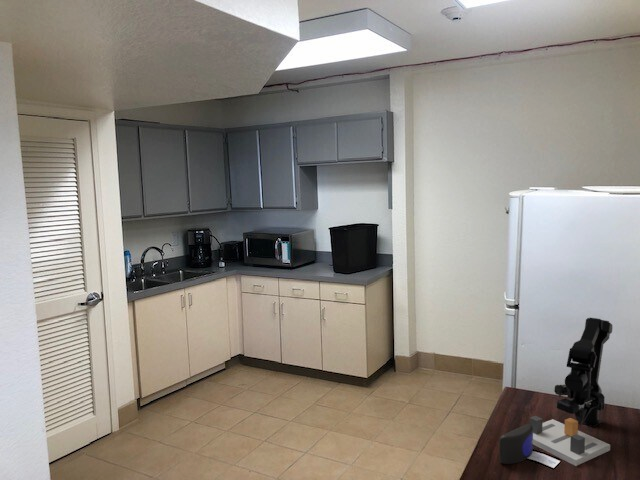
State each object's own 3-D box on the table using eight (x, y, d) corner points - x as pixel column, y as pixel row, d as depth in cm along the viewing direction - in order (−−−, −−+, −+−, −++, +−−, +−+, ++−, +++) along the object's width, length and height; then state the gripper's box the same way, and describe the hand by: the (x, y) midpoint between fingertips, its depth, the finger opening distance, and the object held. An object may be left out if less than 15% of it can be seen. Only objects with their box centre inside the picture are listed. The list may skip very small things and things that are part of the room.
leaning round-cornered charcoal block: (509, 469, 165) (510, 441, 164) (497, 463, 169) (497, 435, 168) (540, 453, 174) (541, 426, 173) (528, 447, 178) (528, 421, 177)
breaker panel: (552, 424, 194) (552, 406, 193) (610, 450, 174) (610, 430, 174) (519, 437, 185) (519, 418, 184) (575, 466, 166) (576, 445, 165)
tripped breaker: (569, 431, 183) (570, 417, 183) (577, 434, 181) (578, 421, 180) (564, 433, 182) (564, 419, 181) (572, 437, 179) (572, 423, 179)
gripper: (577, 369, 193) (575, 409, 195) (543, 380, 184) (542, 422, 186) (606, 378, 183) (604, 421, 185) (572, 390, 174) (571, 435, 176)
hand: (580, 424), depth 183 cm, fingers closed
